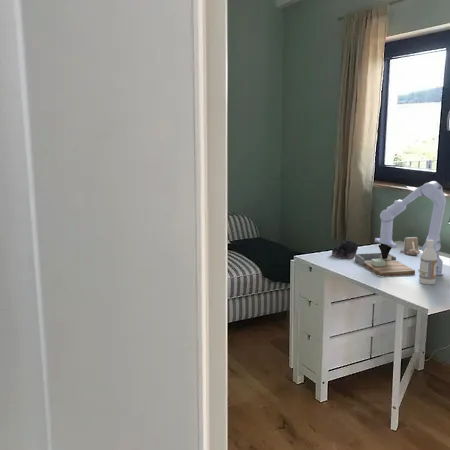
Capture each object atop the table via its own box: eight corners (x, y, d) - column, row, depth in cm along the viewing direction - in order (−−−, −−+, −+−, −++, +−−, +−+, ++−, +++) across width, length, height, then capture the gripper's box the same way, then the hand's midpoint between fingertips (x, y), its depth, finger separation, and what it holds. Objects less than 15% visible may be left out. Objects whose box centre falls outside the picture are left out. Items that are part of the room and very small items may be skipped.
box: (395, 263, 264) (396, 257, 263) (363, 265, 261) (363, 259, 260) (386, 258, 274) (387, 252, 273) (354, 260, 270) (355, 254, 270)
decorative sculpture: (419, 256, 278) (420, 243, 276) (400, 255, 281) (401, 242, 279) (417, 249, 293) (418, 237, 291) (399, 248, 296) (400, 235, 294)
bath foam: (432, 286, 230) (436, 242, 226) (417, 283, 234) (420, 240, 230) (436, 282, 236) (440, 239, 231) (421, 279, 240) (424, 237, 235)
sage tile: (385, 266, 253) (385, 261, 253) (375, 266, 253) (376, 261, 252) (380, 263, 258) (380, 258, 258) (371, 263, 257) (371, 259, 257)
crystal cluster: (326, 255, 282) (327, 238, 279) (344, 250, 289) (345, 233, 286) (344, 263, 272) (345, 245, 268) (362, 257, 278) (363, 240, 275)
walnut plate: (414, 274, 247) (415, 270, 246) (380, 276, 243) (380, 272, 243) (396, 263, 264) (396, 260, 264) (363, 265, 261) (363, 262, 260)
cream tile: (391, 260, 263) (391, 255, 264) (381, 259, 264) (381, 254, 264) (389, 260, 268) (389, 255, 269) (379, 260, 269) (379, 255, 269)
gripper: (402, 235, 255) (400, 261, 258) (383, 229, 268) (381, 254, 271) (391, 236, 253) (389, 262, 255) (372, 230, 266) (370, 255, 269)
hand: (384, 258), depth 263 cm, fingers closed
